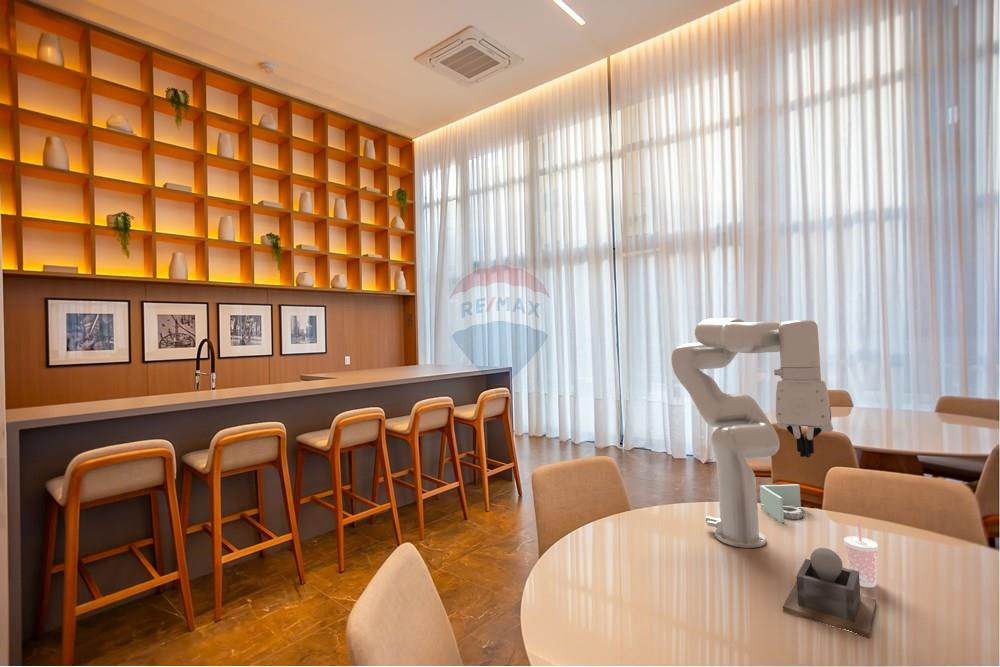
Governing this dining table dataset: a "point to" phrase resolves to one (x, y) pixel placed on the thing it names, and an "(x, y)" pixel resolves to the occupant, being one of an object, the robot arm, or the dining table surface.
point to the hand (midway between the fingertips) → (805, 455)
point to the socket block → (831, 600)
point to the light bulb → (826, 564)
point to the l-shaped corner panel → (781, 501)
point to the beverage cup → (862, 557)
